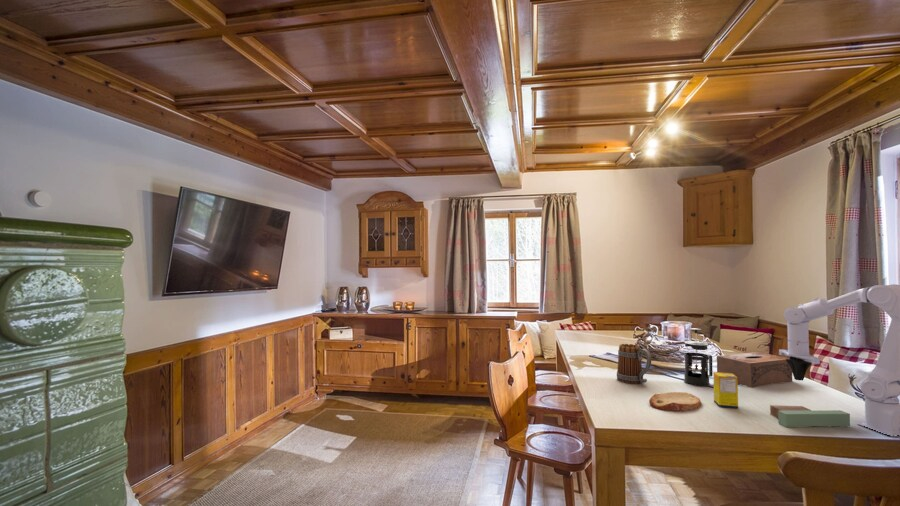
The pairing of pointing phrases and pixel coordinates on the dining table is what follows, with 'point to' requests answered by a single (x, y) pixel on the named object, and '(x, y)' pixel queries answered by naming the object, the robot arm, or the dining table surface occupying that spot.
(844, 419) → the rail
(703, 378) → the french press
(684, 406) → the bread slice
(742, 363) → the tissue box cover
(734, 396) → the supplement box
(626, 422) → the dining table surface
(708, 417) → the dining table surface
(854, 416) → the dining table surface
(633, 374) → the mug
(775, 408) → the slab
